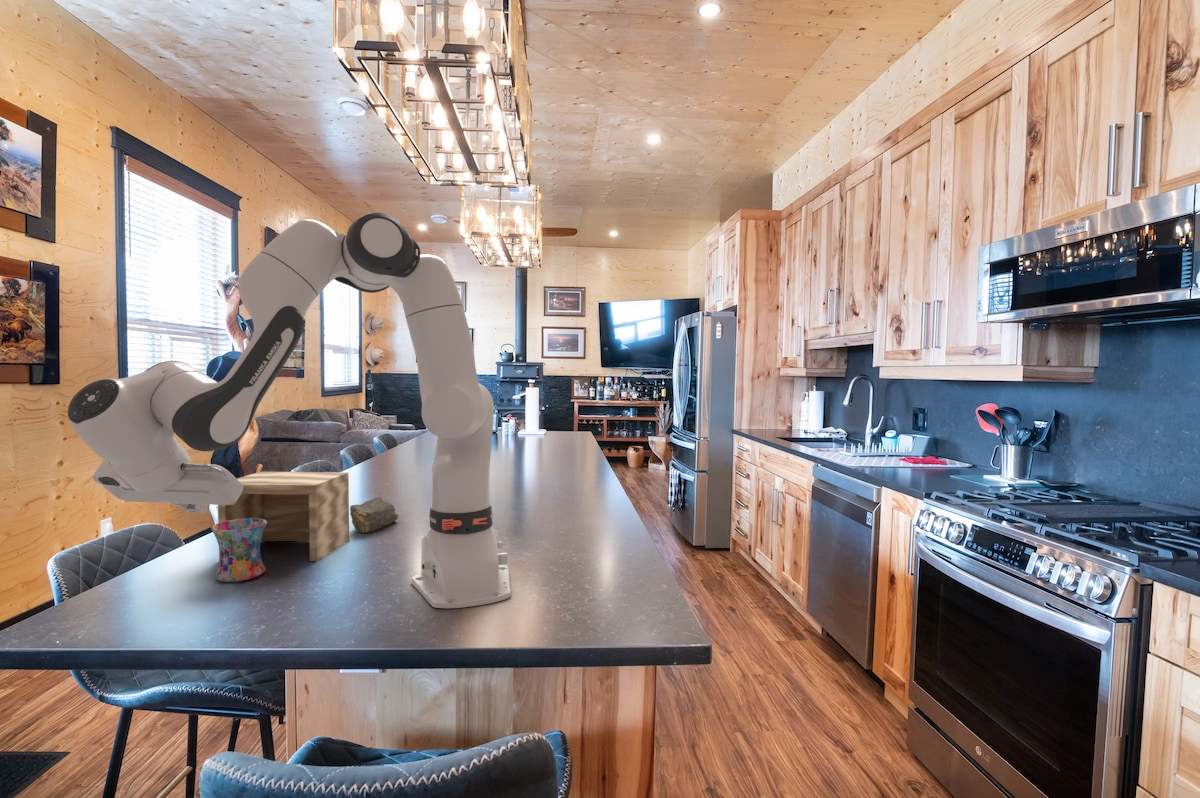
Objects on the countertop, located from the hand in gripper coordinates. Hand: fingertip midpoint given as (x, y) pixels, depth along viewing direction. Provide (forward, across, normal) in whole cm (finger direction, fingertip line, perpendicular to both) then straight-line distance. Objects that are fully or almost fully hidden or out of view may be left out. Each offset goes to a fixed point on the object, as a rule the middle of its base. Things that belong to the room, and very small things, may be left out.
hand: (198, 509), depth 104 cm
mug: (+20, -1, +3) cm, 20 cm away
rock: (+46, -12, -23) cm, 52 cm away
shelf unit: (+30, -1, -8) cm, 31 cm away
